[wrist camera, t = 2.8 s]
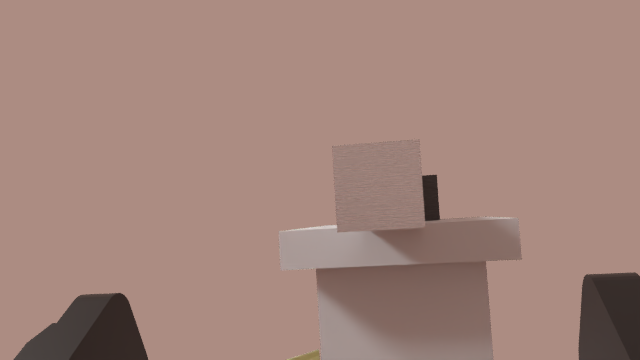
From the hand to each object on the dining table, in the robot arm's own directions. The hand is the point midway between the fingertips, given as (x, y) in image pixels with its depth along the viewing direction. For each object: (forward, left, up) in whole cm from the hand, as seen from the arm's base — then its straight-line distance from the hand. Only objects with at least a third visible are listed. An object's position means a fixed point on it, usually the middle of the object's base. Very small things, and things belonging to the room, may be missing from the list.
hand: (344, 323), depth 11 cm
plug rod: (-11, +19, +1) cm, 22 cm away
